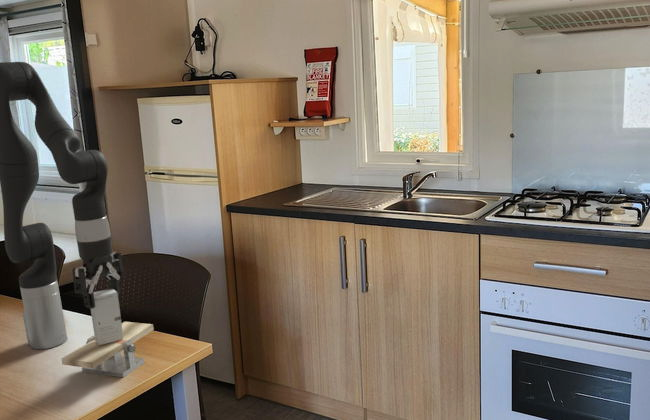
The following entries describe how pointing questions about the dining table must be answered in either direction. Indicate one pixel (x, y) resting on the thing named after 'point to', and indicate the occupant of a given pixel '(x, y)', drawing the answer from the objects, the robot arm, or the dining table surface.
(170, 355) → the dining table surface
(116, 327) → the skincare box
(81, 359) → the balance beam
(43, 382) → the dining table surface
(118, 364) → the pivot stand
